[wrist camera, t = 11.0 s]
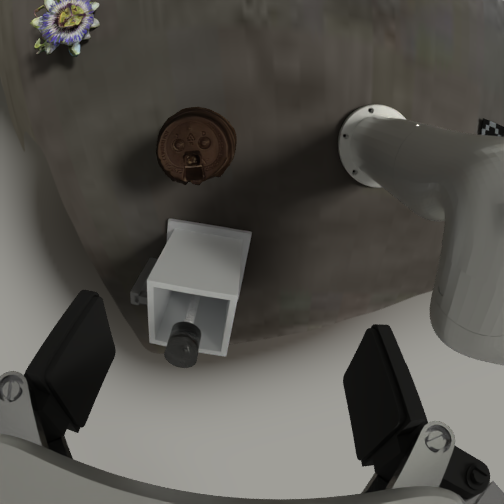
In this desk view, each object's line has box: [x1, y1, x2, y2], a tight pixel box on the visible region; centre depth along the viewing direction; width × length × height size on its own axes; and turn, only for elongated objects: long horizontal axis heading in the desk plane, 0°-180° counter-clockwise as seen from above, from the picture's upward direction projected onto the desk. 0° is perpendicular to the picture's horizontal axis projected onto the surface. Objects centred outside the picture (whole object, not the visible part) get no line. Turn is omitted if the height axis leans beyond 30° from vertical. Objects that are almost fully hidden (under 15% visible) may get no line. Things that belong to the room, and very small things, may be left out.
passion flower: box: [30, 0, 99, 57], centre depth 25 cm, size 11×11×12 cm
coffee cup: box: [156, 107, 236, 185], centre depth 33 cm, size 9×8×13 cm
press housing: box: [130, 218, 252, 356], centre depth 42 cm, size 15×13×15 cm
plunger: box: [164, 294, 201, 368], centre depth 39 cm, size 8×8×20 cm
